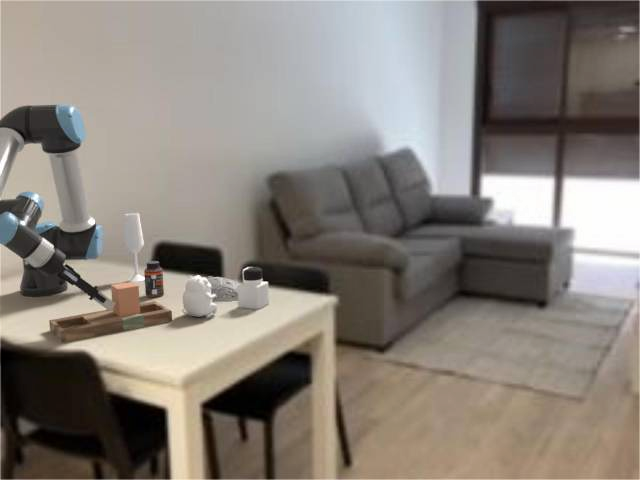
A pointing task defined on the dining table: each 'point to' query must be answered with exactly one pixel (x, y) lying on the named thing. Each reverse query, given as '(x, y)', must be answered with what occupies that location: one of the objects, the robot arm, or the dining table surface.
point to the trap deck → (107, 322)
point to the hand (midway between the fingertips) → (112, 306)
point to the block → (125, 298)
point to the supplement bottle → (153, 279)
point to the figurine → (198, 297)
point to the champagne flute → (134, 241)
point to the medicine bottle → (253, 289)
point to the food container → (223, 289)
